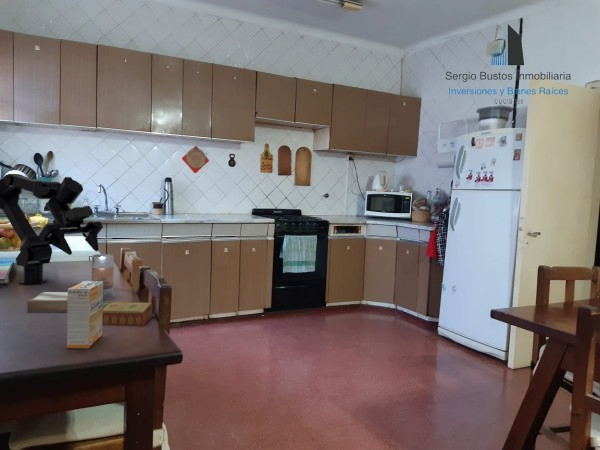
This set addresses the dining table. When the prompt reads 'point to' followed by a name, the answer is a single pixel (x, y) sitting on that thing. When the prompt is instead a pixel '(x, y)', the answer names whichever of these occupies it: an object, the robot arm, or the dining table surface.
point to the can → (104, 273)
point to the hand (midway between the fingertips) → (84, 252)
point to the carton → (126, 313)
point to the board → (49, 302)
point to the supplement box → (84, 314)
